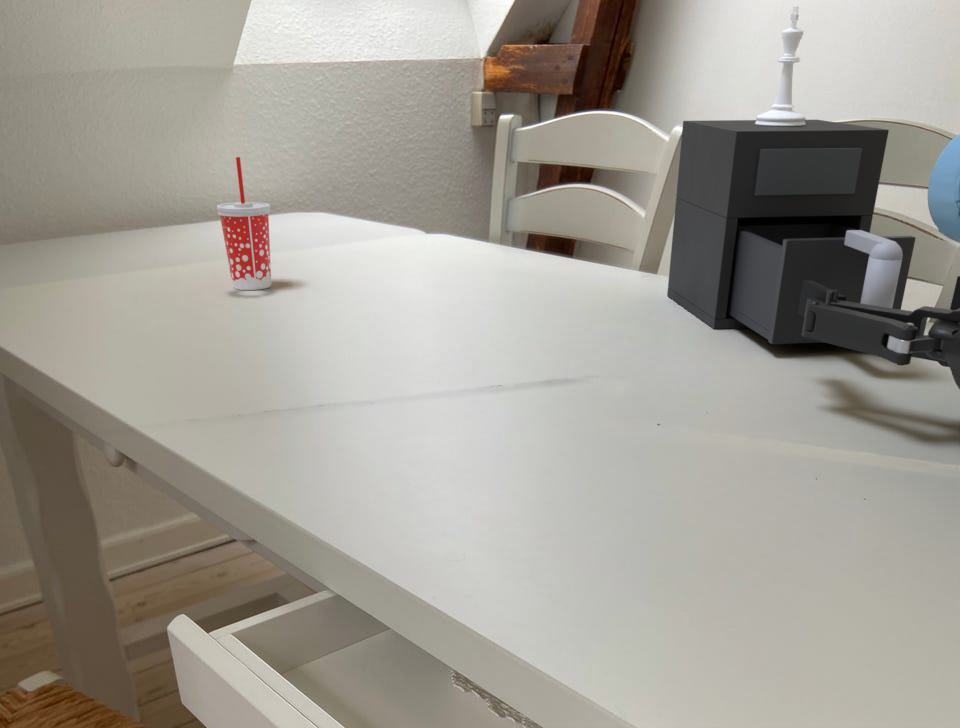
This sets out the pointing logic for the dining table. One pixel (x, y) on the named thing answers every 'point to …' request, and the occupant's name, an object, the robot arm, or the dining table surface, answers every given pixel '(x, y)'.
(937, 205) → the robot arm
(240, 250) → the beverage cup
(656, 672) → the dining table surface
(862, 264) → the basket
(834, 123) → the fryer
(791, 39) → the chess piece
